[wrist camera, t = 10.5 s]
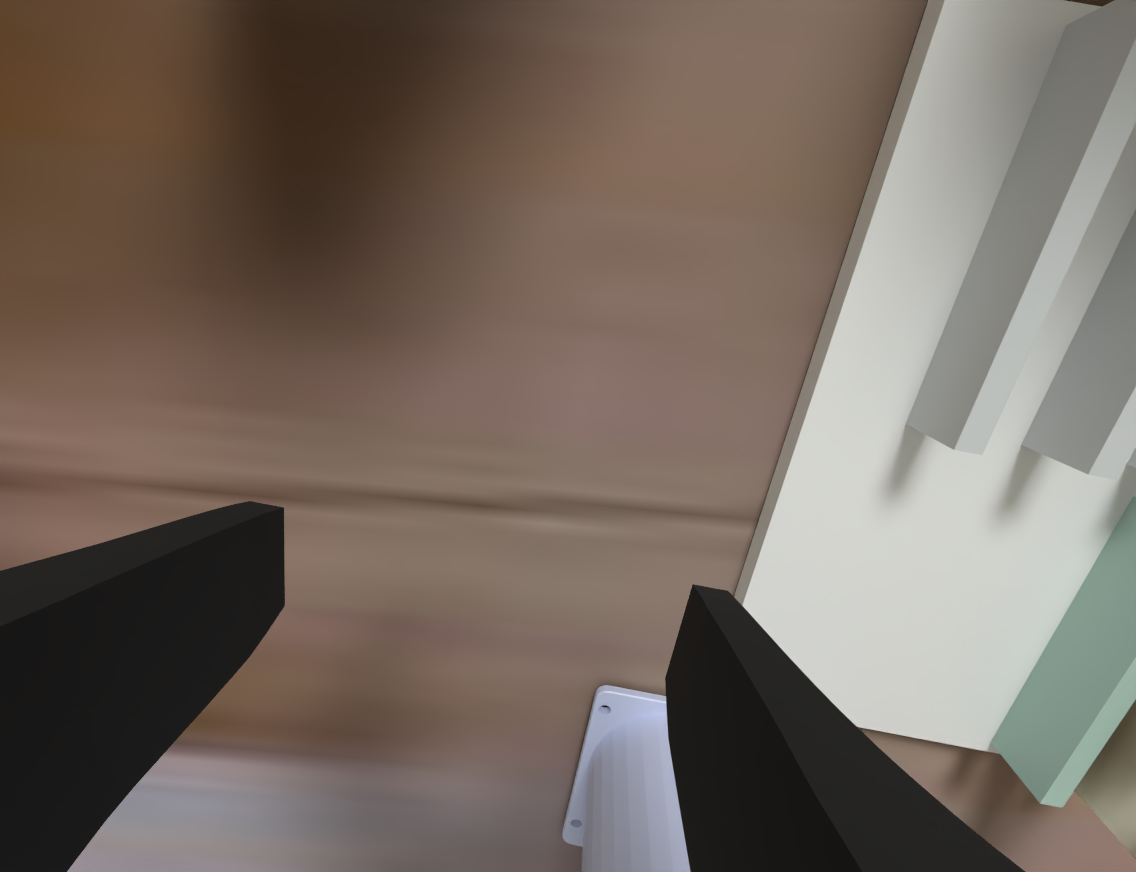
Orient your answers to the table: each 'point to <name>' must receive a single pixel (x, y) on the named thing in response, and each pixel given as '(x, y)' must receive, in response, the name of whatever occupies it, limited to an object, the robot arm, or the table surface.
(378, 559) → the table surface
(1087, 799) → the birch sheet
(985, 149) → the rack
